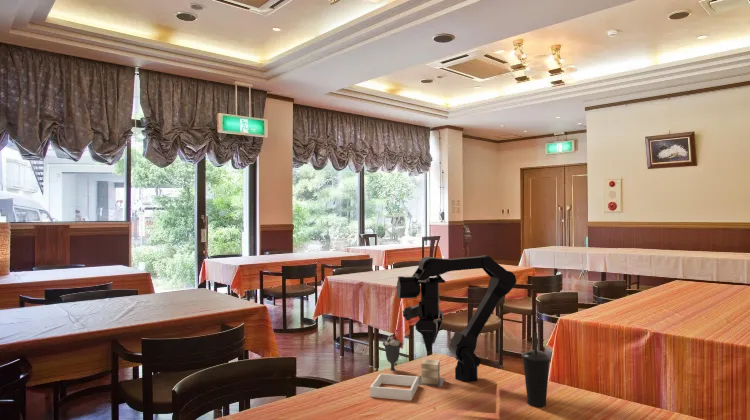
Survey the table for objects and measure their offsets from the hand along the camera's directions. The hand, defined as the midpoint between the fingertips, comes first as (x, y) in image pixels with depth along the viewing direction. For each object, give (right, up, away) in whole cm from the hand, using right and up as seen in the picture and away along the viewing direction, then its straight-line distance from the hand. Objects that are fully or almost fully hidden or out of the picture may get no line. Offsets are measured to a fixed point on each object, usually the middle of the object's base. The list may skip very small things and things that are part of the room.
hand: (430, 347), depth 149 cm
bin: (-12, -12, -8) cm, 19 cm away
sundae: (-11, -12, +11) cm, 20 cm away
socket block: (0, -11, 0) cm, 11 cm away
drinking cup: (+28, -12, -16) cm, 34 cm away
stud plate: (0, -12, 0) cm, 12 cm away
